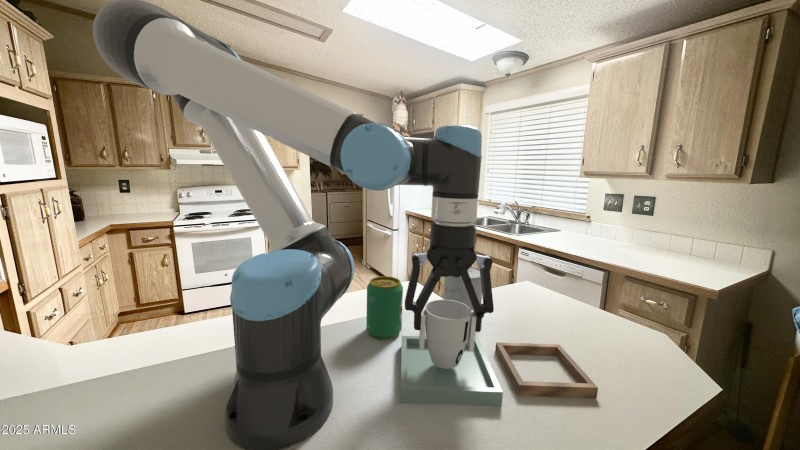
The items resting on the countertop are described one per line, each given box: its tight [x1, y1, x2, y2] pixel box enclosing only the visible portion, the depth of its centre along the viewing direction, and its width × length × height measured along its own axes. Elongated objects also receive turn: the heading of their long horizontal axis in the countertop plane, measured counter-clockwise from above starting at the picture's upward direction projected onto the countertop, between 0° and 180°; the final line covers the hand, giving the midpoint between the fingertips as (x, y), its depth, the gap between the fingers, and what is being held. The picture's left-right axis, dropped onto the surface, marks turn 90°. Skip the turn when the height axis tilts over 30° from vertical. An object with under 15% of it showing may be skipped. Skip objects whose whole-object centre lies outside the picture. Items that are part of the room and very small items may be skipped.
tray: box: [400, 335, 504, 407], centre depth 57 cm, size 16×16×2 cm
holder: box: [495, 341, 599, 400], centre depth 58 cm, size 13×13×2 cm
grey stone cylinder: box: [442, 266, 483, 311], centre depth 78 cm, size 10×10×12 cm
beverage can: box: [366, 275, 404, 341], centre depth 70 cm, size 8×8×12 cm
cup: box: [424, 299, 472, 369], centre depth 56 cm, size 8×8×10 cm
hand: (445, 346), depth 56 cm, fingers closed on cup, 8 cm apart
